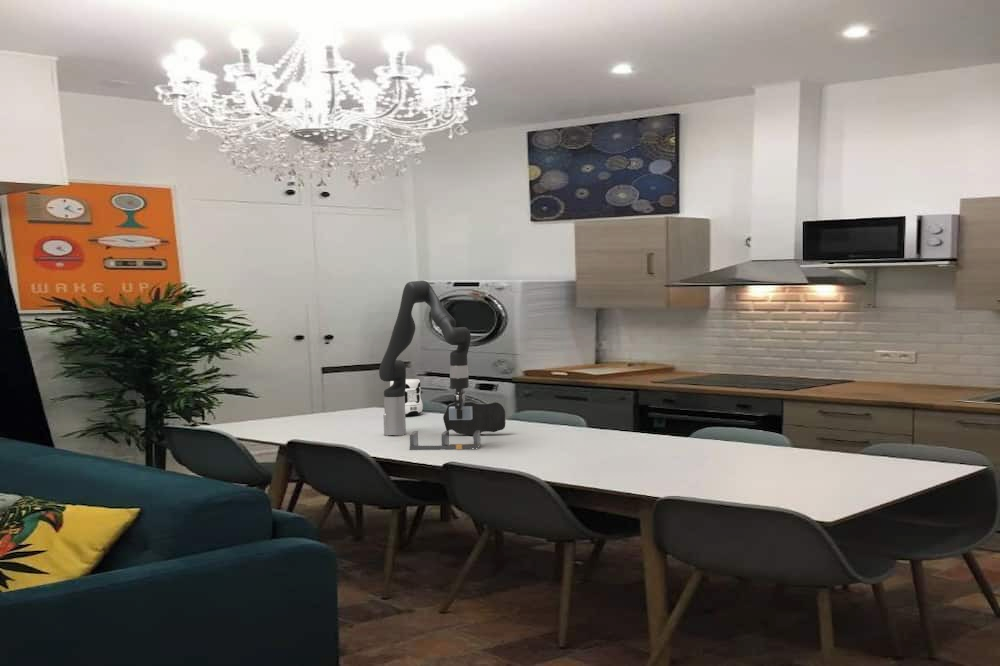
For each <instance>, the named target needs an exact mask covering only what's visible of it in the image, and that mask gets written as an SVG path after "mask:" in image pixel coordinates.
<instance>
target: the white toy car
mask: <svg viewBox="0 0 1000 666" xmlns="http://www.w3.org/2000/svg"><path fill="white" fill-rule="evenodd" d="M393 383H394V381H389V387H391V386H392V385H393ZM421 389H422V388H421V380H420V379H418V378H406V389H405V417H410V416H416V415H420V414H421V413H422V412H423V407H424V404H423V400H422V395H421Z"/></svg>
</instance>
